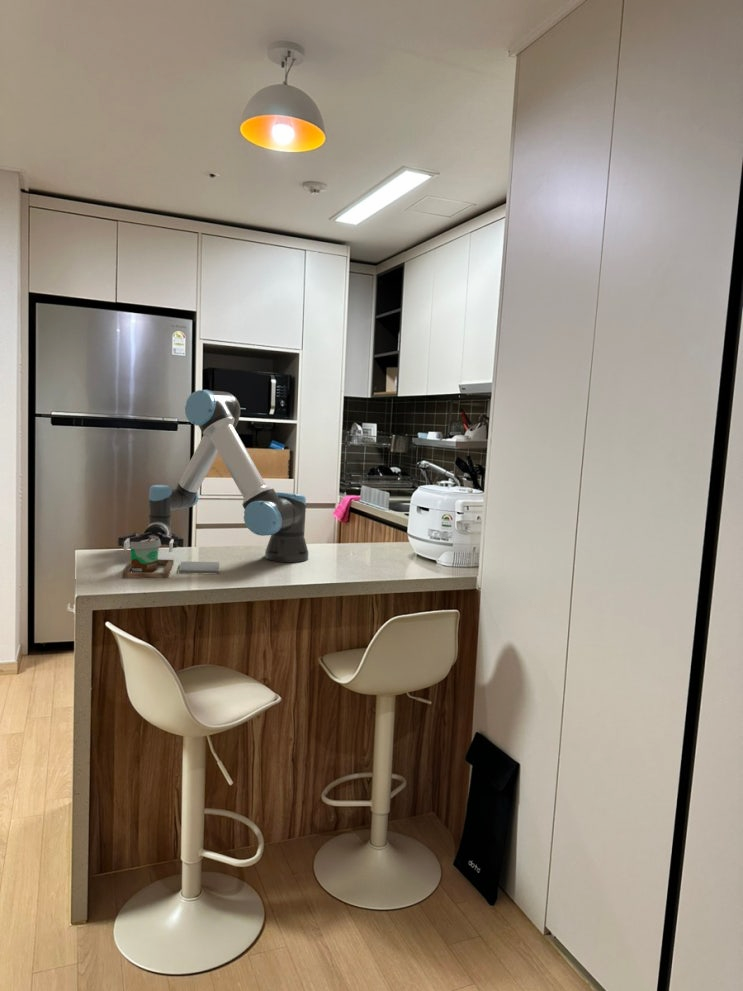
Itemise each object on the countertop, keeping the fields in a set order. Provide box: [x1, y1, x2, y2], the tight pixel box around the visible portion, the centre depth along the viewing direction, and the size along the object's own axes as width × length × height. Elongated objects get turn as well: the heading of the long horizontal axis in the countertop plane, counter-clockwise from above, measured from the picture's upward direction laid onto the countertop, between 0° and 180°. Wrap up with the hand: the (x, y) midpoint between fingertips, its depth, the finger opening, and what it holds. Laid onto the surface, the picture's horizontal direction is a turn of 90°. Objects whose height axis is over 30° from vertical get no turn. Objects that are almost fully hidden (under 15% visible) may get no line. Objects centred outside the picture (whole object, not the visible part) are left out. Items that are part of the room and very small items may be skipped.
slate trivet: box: [177, 561, 220, 574], centre depth 219 cm, size 12×12×1 cm
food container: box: [129, 536, 162, 572], centre depth 212 cm, size 12×6×10 cm, turn 168°
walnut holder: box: [121, 558, 175, 579], centre depth 213 cm, size 13×19×2 cm
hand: (147, 547), depth 214 cm, fingers open, 13 cm apart
